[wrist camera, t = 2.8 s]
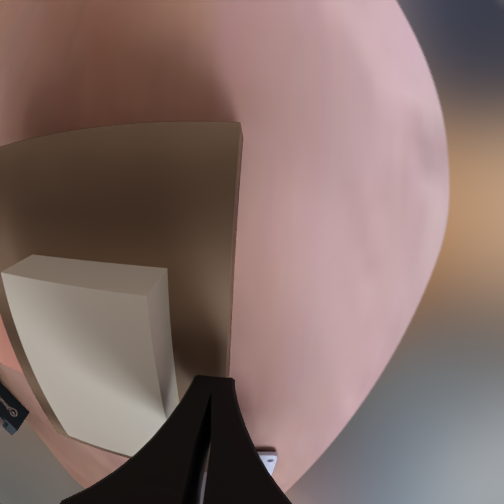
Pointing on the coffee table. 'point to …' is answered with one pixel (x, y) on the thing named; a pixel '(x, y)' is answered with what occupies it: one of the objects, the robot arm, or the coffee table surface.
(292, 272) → the coffee table surface
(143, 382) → the tile
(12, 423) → the watch
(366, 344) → the coffee table surface
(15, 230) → the brown wooden block
